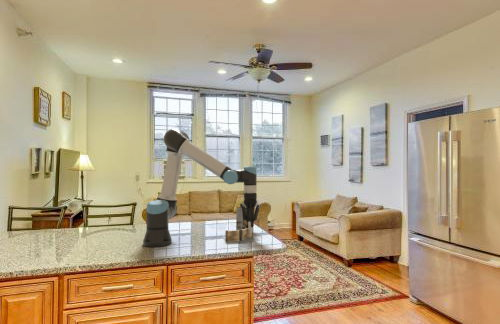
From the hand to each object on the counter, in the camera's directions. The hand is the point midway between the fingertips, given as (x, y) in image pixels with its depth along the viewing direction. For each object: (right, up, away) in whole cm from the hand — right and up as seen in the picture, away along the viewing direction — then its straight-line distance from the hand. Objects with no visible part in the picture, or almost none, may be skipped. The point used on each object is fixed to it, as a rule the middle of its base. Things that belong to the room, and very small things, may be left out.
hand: (250, 232), depth 186 cm
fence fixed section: (-10, -3, -6) cm, 12 cm away
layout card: (-6, -4, 0) cm, 7 cm away
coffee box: (-4, -4, +20) cm, 21 cm away
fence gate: (-2, -3, 0) cm, 4 cm away
